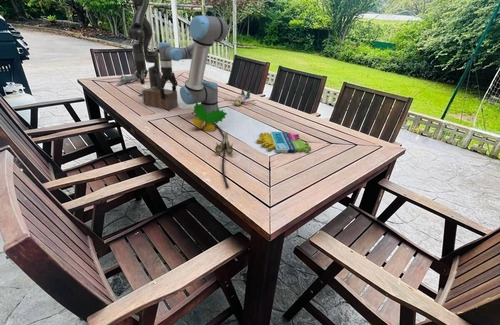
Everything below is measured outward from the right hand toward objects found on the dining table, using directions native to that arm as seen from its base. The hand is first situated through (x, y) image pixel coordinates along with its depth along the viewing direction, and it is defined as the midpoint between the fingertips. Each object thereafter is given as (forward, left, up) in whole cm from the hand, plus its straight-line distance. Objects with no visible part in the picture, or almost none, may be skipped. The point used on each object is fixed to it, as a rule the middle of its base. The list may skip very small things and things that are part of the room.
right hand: (168, 96), depth 193 cm
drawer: (+8, +10, -7) cm, 15 cm away
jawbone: (-78, -27, -8) cm, 83 cm away
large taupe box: (+4, +6, -8) cm, 10 cm away
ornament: (-46, -24, -8) cm, 52 cm away
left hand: (+14, +18, +6) cm, 24 cm away
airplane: (+84, +36, -8) cm, 91 cm away
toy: (+11, -58, -8) cm, 60 cm away
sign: (-72, -62, -8) cm, 96 cm away
